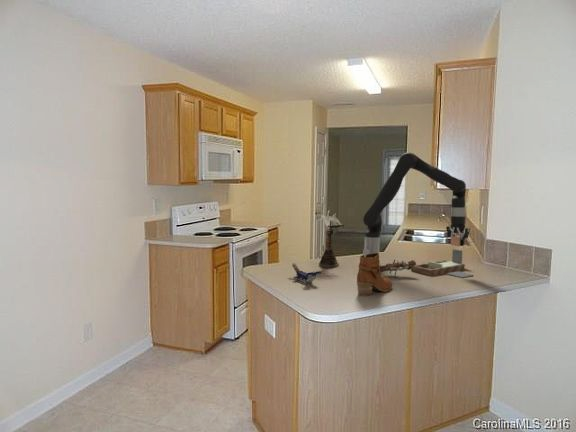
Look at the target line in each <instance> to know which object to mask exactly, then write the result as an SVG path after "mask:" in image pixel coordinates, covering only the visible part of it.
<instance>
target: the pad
mask: <svg viewBox="0 0 576 432" xmlns="http://www.w3.org/2000/svg"><path fill="white" fill-rule="evenodd" d="M446 275H448V276H452V277H456V278H459V279H463V278H470V277H474V274H471V273H467V272H463V271H455V272H450V273H446Z"/></svg>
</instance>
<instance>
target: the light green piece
mask: <svg viewBox="0 0 576 432" xmlns="http://www.w3.org/2000/svg"><path fill="white" fill-rule="evenodd" d="M451 254H452V256H451V258H452V260H450V261H447V262H443V263H435V262H436V261H428V263H429V264H428V267H430V268H434V269H436V268H442V267H448V266H454V265H460V264H464V265H465V266H466V263H463V250H462V249H457V248H453V249H452V253H451Z"/></svg>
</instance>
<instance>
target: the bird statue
mask: <svg viewBox="0 0 576 432" xmlns="http://www.w3.org/2000/svg"><path fill="white" fill-rule="evenodd" d="M320 218H321V220H322V221H323V223H324V224H325V230H324V231H325V235H326V236H327V237H326V242H327V243H326V244H327V245H326V248H324V252H323V254H322V256H321V258H320V261H319V262H318V266H319V267H321V268H327V269H329V268H331V269H332V268H338V267H339V266H340V265H339V263H338V260H337V257H336V254H335V253H334V251H333V248H332V247H331V246H332V235H333V234H334V229H333V228H341V227H344V225H345V224H342V223H341V221H340V220H339V218H338V217H337V214H336V212H335V213H334V214H332V215H331V211H330V209H328V210H327V215H326V216H325V215H323V214H321V215H320Z"/></svg>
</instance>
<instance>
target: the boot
mask: <svg viewBox="0 0 576 432" xmlns="http://www.w3.org/2000/svg"><path fill="white" fill-rule="evenodd" d="M380 261H381V260H380V252H379V253H372V254H367V255H366V257H364V255H363V254H362V255H360V256H359V263H358V272H357V276H356V285H357V294H358V295H359V296H361V297H362V296H364V297H366V296H371V295H373V290H375V291H378V292H382V293H386V292H389V291H390V290H391V289H392V288H393V283H392V282H393V281H392V280H391V279H390V278H388V277H383V275H382V273H380V266H381V265H380Z"/></svg>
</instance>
